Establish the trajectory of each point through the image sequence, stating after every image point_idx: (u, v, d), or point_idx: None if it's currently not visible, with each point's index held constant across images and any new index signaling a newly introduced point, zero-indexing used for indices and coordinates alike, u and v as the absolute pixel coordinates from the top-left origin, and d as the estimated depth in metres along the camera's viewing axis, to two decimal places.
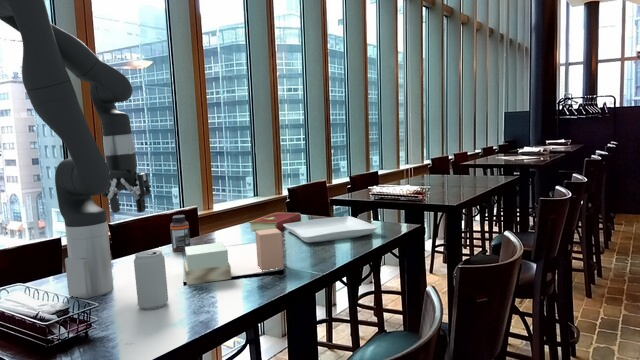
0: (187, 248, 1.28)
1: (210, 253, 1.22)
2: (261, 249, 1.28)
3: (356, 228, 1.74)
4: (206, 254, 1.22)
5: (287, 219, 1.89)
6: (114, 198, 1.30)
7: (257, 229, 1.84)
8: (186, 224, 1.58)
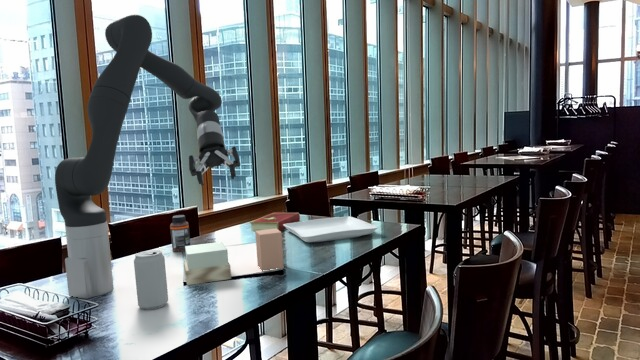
0: (187, 247, 1.28)
1: (210, 252, 1.23)
2: (261, 249, 1.28)
3: (356, 228, 1.74)
4: (206, 253, 1.22)
5: (287, 219, 1.89)
6: None
7: (258, 229, 1.84)
8: (186, 224, 1.58)
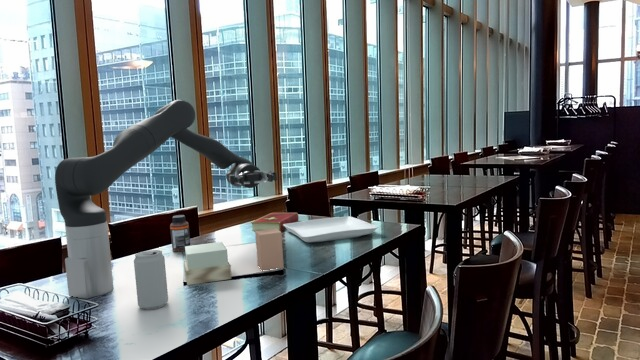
0: (187, 247, 1.28)
1: (210, 252, 1.22)
2: (261, 249, 1.28)
3: (356, 228, 1.74)
4: (206, 253, 1.22)
5: (288, 219, 1.89)
6: None
7: (259, 229, 1.83)
8: (186, 224, 1.58)
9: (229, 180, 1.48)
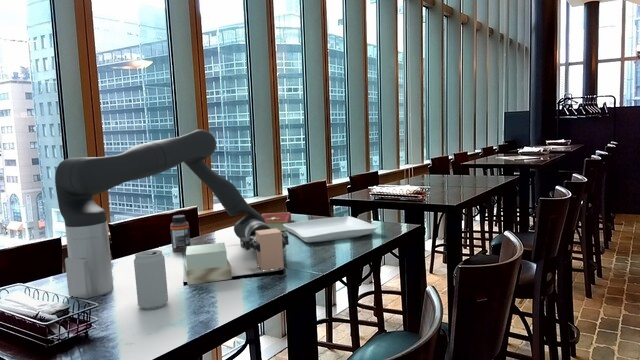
0: (188, 248, 1.28)
1: (209, 253, 1.22)
2: (261, 249, 1.28)
3: (356, 228, 1.74)
4: (205, 254, 1.22)
5: (288, 218, 1.91)
6: None
7: None
8: (186, 224, 1.58)
9: None
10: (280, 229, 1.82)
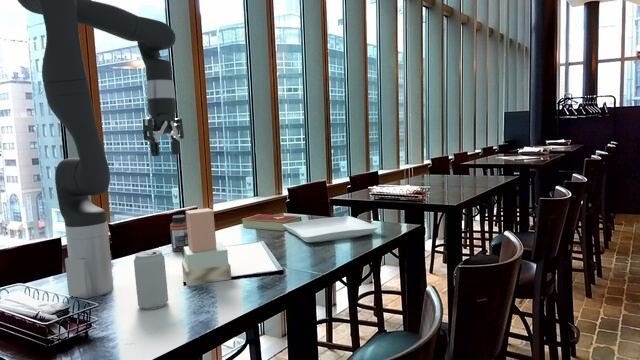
0: (186, 248, 1.27)
1: (210, 253, 1.22)
2: (191, 229, 1.21)
3: (356, 228, 1.74)
4: (206, 254, 1.21)
5: None
6: None
7: None
8: (186, 224, 1.58)
9: (144, 121, 1.30)
10: None
